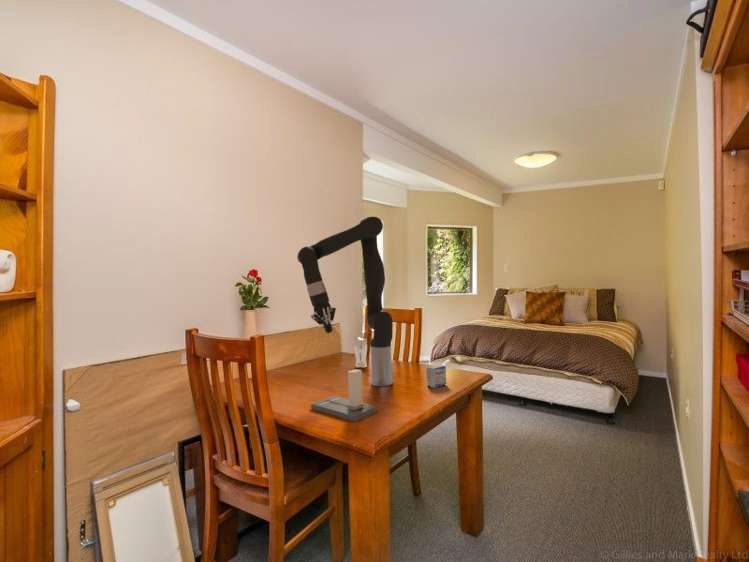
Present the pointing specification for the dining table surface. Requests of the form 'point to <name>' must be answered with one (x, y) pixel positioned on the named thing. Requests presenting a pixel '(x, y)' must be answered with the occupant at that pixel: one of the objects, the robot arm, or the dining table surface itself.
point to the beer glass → (360, 352)
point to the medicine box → (436, 376)
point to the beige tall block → (355, 389)
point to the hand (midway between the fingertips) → (329, 332)
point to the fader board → (343, 408)
